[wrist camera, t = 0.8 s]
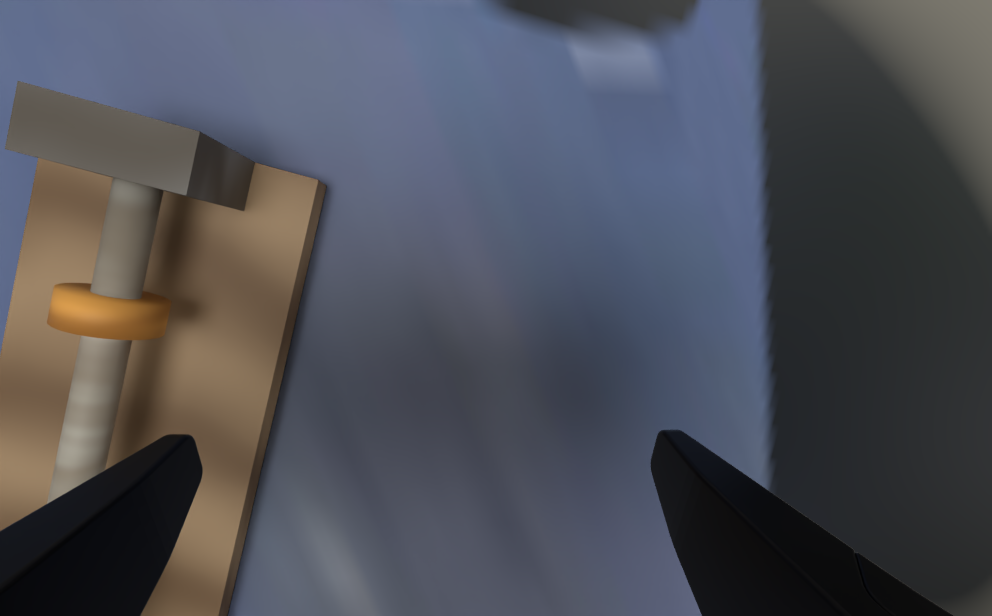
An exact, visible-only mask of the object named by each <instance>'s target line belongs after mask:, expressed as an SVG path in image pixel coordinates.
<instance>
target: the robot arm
mask: <svg viewBox="0 0 992 616" xmlns="http://www.w3.org/2000/svg"><path fill="white" fill-rule="evenodd" d="M651 472H652V476H653V479H654V482H655V486H656V489H657V493H658V496H659V499H660V503H661V506H662V510H663V513H664V516H665V520H666V523H667V527H668V530H669V533H670V536H671V539H672V543H673V545H674V548H675V551H676V553H677V556H678V558H679V561H680V563H681V566H682V568H683V570H684V573H685V575H686V578H687V580H688V583H689V585H690V587H691V590H692V592H693V595H694V597H695V600H696V602H697V604H698V607H699V609H700V612H701V614H702V616H953V615H952V614H950V613H949V612H947V611H946V610H944V609H942V608H941V607H939V606H938V605H936V604H935V603H933V602H931V601H930V600H928V599H927V598H925V597H923V596H922V595H920V594H919V593H917V592H916V591H914V590H913V589H911V588H910V587H908V586H907V585H905V584H904V583H902V582H901V581H899V580H898V579H896V578H895V577H893V576H892V575H890V574H889V573H887V572H886V571H884V570H883V569H881V568H880V567H879V566H877V565H876V564H874V563H873V562H871V561H870V560H868V559H867V558H866V557H864V556H863V555H861V554H860V553H855V552H854V550H853V549H852V548H851V547H849V546H848V545H846V544H845V543H843V542H842V541H841V540H839V539H838V538H836V537H835V536H833V535H832V534H830V533H829V532H828V531H826V530H825V529H823V528H822V527H820V526H819V525H817V524H816V523H814V522H813V521H812V520H810V519H809V518H807V517H806V516H804V515H803V514H802V513H800V512H799V511H797V510H796V509H794V508H793V507H791V506H790V505H788V504H787V503H786V502H784V501H782V500H781V499H780V498H778V497H777V496H775V495H774V494H773V493H771V492H770V491H768V490H767V489H765V488H764V487H762V486H761V485H760V484H758V483H757V482H755V481H754V480H752V479H751V478H749V477H748V476H746V475H745V474H744V473H742V472H741V471H739V470H738V469H736V468H735V467H733V466H732V465H731V464H729V463H728V462H726V461H725V460H723V459H722V458H720V457H719V456H717V455H716V454H715V453H713V452H712V451H710V450H709V449H707V448H706V447H704V446H703V445H702V444H700V443H699V442H697V441H696V440H694V439H693V438H691V437H690V436H688V435H687V434H686V433H684V432H682V431H680V430H662V431H660V432H659V433H658V435H657V439H656V442H655V446H654V450H653V454H652V458H651ZM202 475H203V467H202V463H201V460H200V456H199V453H198V449H197V446H196V442H195V440H194V438H193V436H191V435H189V434H168V435H165V436H163V437H161V438H159V439H158V440H156V441H154V442H152V443H151V444H149V445H147V446H146V447H144V448H142V449H140V450H139V451H137V452H135V453H134V454H132V455H130V456H128V457H127V458H125V459H123V460H122V461H120V462H118V463H116V464H115V465H113V466H111V467H109V468H108V469H106V470H104V471H103V472H101V473H99V474H97V475H96V476H94V477H92V478H91V479H89V480H87V481H85V482H84V483H82V484H80V485H79V486H77V487H75V488H73V489H72V490H70V491H68V492H66V493H65V494H63V495H61V496H60V497H58V498H56V499H54V500H53V501H51V502H49V503H48V504H46V505H44V506H42V507H41V508H39V509H37V510H35V511H34V512H32V513H30V514H29V515H27V516H25V517H23V518H22V519H20V520H18V521H17V522H15V523H13V524H11V525H10V526H8V527H6V528H4V529H3V530H1V531H0V616H141V614H142V612H143V610H144V608H145V606H146V604H147V602H148V600H149V598H150V596H151V594H152V592H153V591H154V589H155V587H156V585H157V583H158V581H159V579H160V577H161V575H162V573H163V571H164V569H165V567H166V565H167V563H168V561H169V559H170V557H171V554H172V552H173V550H174V547H175V545H176V542H177V540H178V537H179V535H180V532H181V530H182V527H183V525H184V522H185V520H186V517H187V515H188V512H189V510H190V507H191V505H192V502H193V500H194V497H195V495H196V492H197V490H198V487H199V485H200V482H201V479H202Z"/></svg>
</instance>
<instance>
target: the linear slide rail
mask: <svg viewBox="0 0 992 616" xmlns="http://www.w3.org/2000/svg"><path fill="white" fill-rule="evenodd" d="M5 149H7V150H11V151H15V152H18V153H22V154H26V155H30V156H33V157H37V158H38V162H37V168H36V173H35V178H34V183H33V188H32V194H31V199H30V204H29V209H28V214H27V220H26V225H25V230H24V235H23V240H22V245H21V251H20V256H19V261H18V266H17V271H16V277H15V282H14V287H13V292H12V297H11V303H10V308H9V313H8V318H7V323H6V329H5V334H4V339H3V344H2V349H1V354H0V531H1V530H3V529H4V528H6V527H8V526H10V525H11V524H13V523H15V522H17V521H18V520H20V519H22V518H23V517H25V516H27V515H29V514H30V513H32V512H34V511H35V510H37V509H39V508H41V507H42V506H44V505H46V504H48V503H49V502H51V501H53V500H54V499H56V498H58V497H60V496H61V495H63V494H65V493H66V492H68V491H70V490H72V489H73V488H75V487H77V486H79V485H80V484H82V483H84V482H85V481H87V480H89V479H91V478H92V477H94V476H96V475H97V474H99V473H101V472H103V471H104V470H106V469H108V468H109V467H111V466H113V465H115V464H116V463H118V462H120V461H122V460H123V459H125V458H127V457H128V456H130V455H132V454H134V453H135V452H137V451H139V450H140V449H142V448H144V447H146V446H147V445H149V444H151V443H152V442H154V441H156V440H158V439H159V438H161V437H163V436H165V435H168V434H189V435H191V436H193V438H194V440H195V442H196V446H197V449H198V453H199V456H200V460H201V463H202V467H203V475H202V479H201V482H200V485H199V487H198V490H197V492H196V495H195V497H194V500H193V502H192V505H191V507H190V510H189V512H188V515H187V517H186V520H185V522H184V525H183V527H182V530H181V532H180V535H179V537H178V540H177V542H176V545H175V547H174V550H173V552H172V554H171V557H170V559H169V561H168V563H167V565H166V567H165V569H164V571H163V573H162V575H161V577H160V579H159V581H158V583H157V585H156V587H155V589H154V591H153V592H152V594H151V596H150V598H149V600H148V602H147V604H146V606H145V608H144V610H143V612H142V614H141V616H227V615H228V611H229V607H230V602H231V598H232V594H233V589H234V585H235V581H236V576H237V572H238V568H239V563H240V559H241V555H242V550H243V546H244V542H245V537H246V533H247V529H248V524H249V520H250V516H251V511H252V507H253V503H254V498H255V494H256V490H257V485H258V481H259V477H260V472H261V468H262V464H263V459H264V455H265V451H266V446H267V442H268V438H269V433H270V429H271V425H272V420H273V416H274V412H275V407H276V403H277V399H278V394H279V390H280V386H281V381H282V377H283V373H284V368H285V364H286V360H287V355H288V351H289V347H290V342H291V338H292V334H293V329H294V325H295V321H296V316H297V312H298V308H299V303H300V299H301V295H302V290H303V286H304V282H305V277H306V273H307V269H308V264H309V260H310V256H311V251H312V247H313V243H314V238H315V234H316V230H317V225H318V221H319V217H320V212H321V208H322V204H323V199H324V195H325V191H326V185H325V184H323V183H322V182H320V181H319V180H317V179H313V178H309V177H306V176H302V175H298V174H295V173H291V172H287V171H284V170H280V169H276V168H273V167H269V166H266V165H262V164H258V163H255V162H253V161H251V160H249V159H248V158H246V157H244V156H242V155H241V154H239V153H237V152H235V151H233V150H232V149H230V148H228V147H226V146H225V145H223V144H221V143H219V142H217V141H216V140H214V139H212V138H210V137H209V136H207V135H205V134H203V133H201V132H200V131H196V130H192V129H189V128H185V127H182V126H178V125H174V124H171V123H167V122H164V121H160V120H156V119H153V118H149V117H146V116H142V115H139V114H135V113H131V112H128V111H124V110H121V109H117V108H113V107H110V106H106V105H103V104H99V103H95V102H92V101H88V100H85V99H81V98H78V97H74V96H70V95H67V94H63V93H60V92H56V91H52V90H49V89H45V88H42V87H38V86H35V85H31V84H27V83H24V82H20V81H18V82H17V88H16V93H15V98H14V103H13V109H12V114H11V119H10V125H9V130H8V135H7V141H6V146H5Z"/></svg>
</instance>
